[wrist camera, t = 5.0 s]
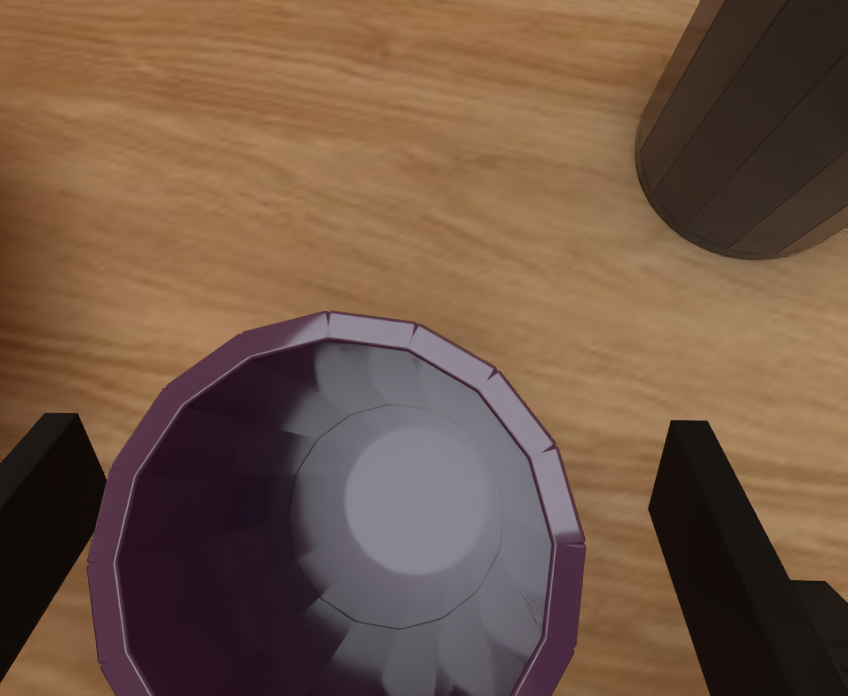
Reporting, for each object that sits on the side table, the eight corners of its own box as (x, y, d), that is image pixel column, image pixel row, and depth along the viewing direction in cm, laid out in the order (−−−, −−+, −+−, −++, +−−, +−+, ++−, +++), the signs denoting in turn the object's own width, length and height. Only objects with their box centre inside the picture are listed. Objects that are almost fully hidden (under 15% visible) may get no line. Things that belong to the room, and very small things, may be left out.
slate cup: (897, 117, 21) (1298, -207, 11) (803, 300, 19) (1153, 127, 10) (695, 25, 22) (891, -345, 12) (595, 193, 21) (720, -59, 11)
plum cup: (561, 470, 19) (673, 468, 9) (438, 692, 18) (414, 960, 8) (360, 350, 20) (265, 233, 10) (233, 552, 19) (-10, 639, 9)
